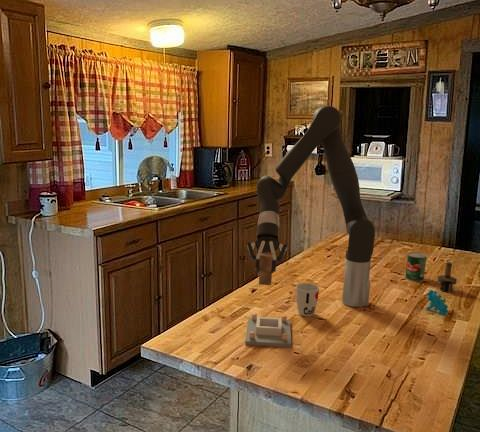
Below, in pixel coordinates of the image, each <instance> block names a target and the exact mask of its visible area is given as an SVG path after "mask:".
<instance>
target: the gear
mask: <svg viewBox="0 0 480 432" xmlns="http://www.w3.org/2000/svg"><path fill="white" fill-rule="evenodd" d="M437 294H438V292H437V291H436V290H432V289H430V290H429V291H428V292H427V293H426V295H427V297H426V298H427V301H429V305H428V306H427V307H426V308H425V309H426V310H427V311H429V310H431V309H432V308H433V311H434V312H437V313H438V315H441V316H446V315H448V314H447V313H449V310H448V309H449V307H448V305H447V304H446V301H447V299H446V298H444V297H443V298H442V295H441V294H438V295H437ZM441 298H442V299H441Z"/></svg>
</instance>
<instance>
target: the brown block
mask: <svg viewBox="0 0 480 432" xmlns="http://www.w3.org/2000/svg"><path fill="white" fill-rule="evenodd" d="M259 267H260V270H259V272H258V285H260V286H263V285H264V286H271V285H272V278H273V276H272V275H273V273H271V268H272V253H271V252H262V253H260V264H259Z"/></svg>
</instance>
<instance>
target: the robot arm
mask: <svg viewBox="0 0 480 432" xmlns="http://www.w3.org/2000/svg"><path fill="white" fill-rule="evenodd" d="M341 121H342V116H341V112H340V111H339V110H338V108H336V107H335V106H331V105H322V106H319V107H317V108H316V110H315V111H314V112H313V115H312V122H311V124H310V126H309V127H308V129H307V130H306V132H305V133H304V134H303V136H302V137H301V138H300V139H299V140H298V141H297V142H296V143H295V144H294V145H293V146H291V148H290V149H289V150H288V152H287V153H286V154H285V155H284V156H283V157H282V159H281V160H280V162H278V164H277V165H276V166H275V172H276V174H278V176H279V177H278V180H276V179H274V178H273V177H271V176H270V175H264V176H261V178H260V179H258V182H257V183H256V197H257V199H258V205H259V212H258V213H259V214H258V215H259V216H258V218H257V219H258V220H257V229H256V240H255V241H254V242H250V241H249V242H247V243H246V245H247V250H248V254H249V257H250V260H251V261H252V262H255V271H257V273H259V270H260V267H259V264H260V253H262V252H271V253H272V268H271V273H272V274H274V272H276V270H277V263H282V262H283V259H284V257H285V255H286V252H287V250H288V245H287V244H286V243H285V244H282V243H281V241H280V239H279V238H280V204H279V202H278V201H280V200H281V199H283V198H284V196H285V194H286V192H287V190H288V188H289V185H290V184H291V181H292V179H293V177H294V176H295V175H296V174H297V172H298V171H299V170H300V169H301V167H302V166H303V165H304V164H305V162H307V160H308V159H309V157H310V156H311V155H312V153H313V152H314V151H315V149H316V148H317V147H318V146H319V145H320V144H321V145H322V148H323V152H324V157H325V162H326V166H327V170H328V173H329V177H330V180H331V183H332V186H333V188H334V192H335V194H336V196H337V198H338V201H339V203H340V205H341V208H342V213H343V217H344V223H345V228H346V232H347V234H348V244H347V245H348V246H347V249H346V251H345V258H344V259H345V260H344V261H345V262H344V273H343V284H342V297H341V298H342V299H341V301H342V303H343V304H344V305H346V306H349V307H351V308H353V307H354V308H363V307H369V300H370V289H371V281H370V275H371V274H370V273H371V261H372V256H373V253H374V247H375V238H376V228H375V225H374V223H373V222H372V221H371V220H370V219H369V217H368V216H367V213H366V211H365V208H364V207H363V203H362V200H361V191H360V190H361V189H360V182H359V177H358V173H357V170H356V167H355V163H354V162H353V160H352V157H351V155H350V153H349V151H348V149H347V147H346V145H345V143H344V140H343V137H342V134H341V133H342V132H341V129H340V123H341ZM255 247H256V249H257V254H256V255H255V253H254V249H255ZM278 249H279V250H280V252H279V254H278V256H277V255H276V251H277V250H278Z"/></svg>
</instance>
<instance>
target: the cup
mask: <svg viewBox="0 0 480 432" xmlns="http://www.w3.org/2000/svg"><path fill="white" fill-rule="evenodd" d="M319 291H320V287H319V286H318V284H313V283H309V282H307V283H306V282H305V283H303V282H302V283H298V284H296V286H295V300H296V308H297V311H298V314H299V315H300V316H302V317H312V316H314V314H315V311H316V308H317V304H318V300H319Z"/></svg>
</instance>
